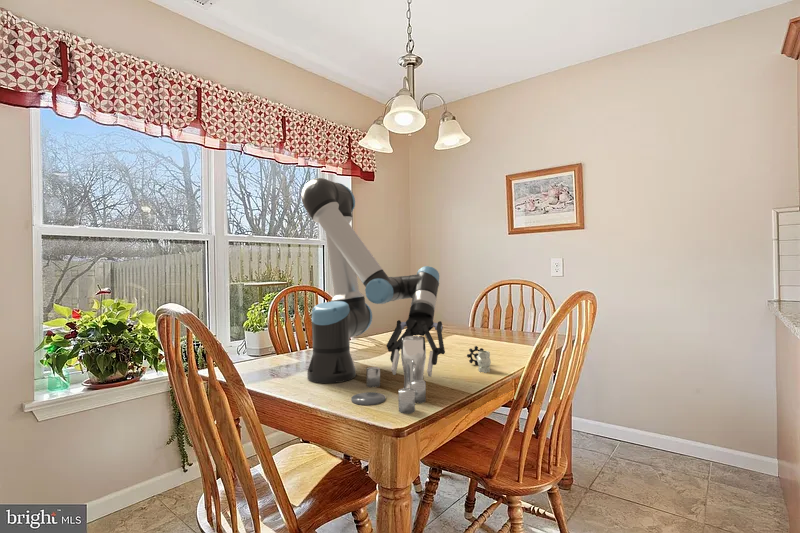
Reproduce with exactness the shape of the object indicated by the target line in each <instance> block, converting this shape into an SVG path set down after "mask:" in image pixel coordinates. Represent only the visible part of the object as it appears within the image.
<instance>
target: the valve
mask: <svg viewBox="0 0 800 533" xmlns="http://www.w3.org/2000/svg"><path fill="white" fill-rule="evenodd" d="M473 348H474V349H473ZM473 348H469V349H468V351H469V352H470V353H467V355H466V357H467V358H469V360H468V361H469V363H470V364H472V363H473V362H474V365H475V366H478V368H477V370H478V372H480V373H481V372H484V373H483V374H488V373H491V367H490V366H491V362H492V361H491V353H490V351H489V350H485V349H484V348H483V347H481V348H479V347H478V346H477V345H475V346H474V347H473ZM474 352H475V353H474ZM487 372H488V373H487Z"/></svg>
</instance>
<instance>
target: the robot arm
mask: <svg viewBox="0 0 800 533" xmlns="http://www.w3.org/2000/svg"><path fill="white" fill-rule="evenodd" d="M303 186H304V187H303V188H302V191H301V202H302V204H303V207H304V209H305V211H306V212H307V214H308V215H309V217H310V218H311V219H312V221H313V222H315V223H317V224H318V223H319V224H320V226H321V228H322V229H323V231H324V232H325V238H326V245H327V252H328V259H329V265H330V272H331V278H332V279H331V280H332V285H333V294H334V296H333V297H332V298H331V299H330V301H327V302H321V303H318V304H316V305H314V306H313V308H312V312H311V313H312V314H311V327H312V328H311V331H312V332H311V335H312V336H311V337H312V338H311V339H312V354H311V357H310V358H311V359H310V362H309V365H308V368H307V375H306V376H307V377H306V378H307V380H308V381H310V382H313V383H321V384H329V383H331V384H333V383H335V384H336V383H341V382H342V383H343V382H346V381H350V380H353V379H354V378H355V377H356V373H357V372H356V366H355V363H354V361H353V357H352V355H351V351H350V350H351V349H350V341H351V340H350V338H353V337H358V336H361V335H362V334H363V333H365V332H366V331H367V330H369V328H370V326H371V324H372V322H373V311H372V309H371V307H370V306H369V305H368V304H367V303H366V299H365V297H366V298H367V300H368V301H370V303H372V304H376V305H383V304H386V303H390V302H395V301H398V300H406V299H411V302H410V308H409V313H408V317H407V320H405V321H401V320H400V319H399V320H397V321H396V326H395V328H394V329H393V332H392V334H391V336H390V338H389V339H388V342H387V344H386V348H387V351H388V352H389V353H390V352H391V353H390V358H389V359H390V362H391V368H390V369H391V372H392V375H393V376H394V375H396V374H397V372H398V371H397V369H398V364H399V360H400V357H401V353H400V352H401V342H402V337H405V336H422V337H424V336H425V339H427V341H428V344H429V346H430V349H431V350H429V355H428V356H429V357H428V361H427V362H428V363H427V368H426V369H427V370H426V373H427V376H428V378H429V377H430V378H431V377H432V374H433V368H434V367H433V366H435V365H437V362H438V356H439V355H444V354H446V353H445V352H446V350H445V344H444V338H443V334H442V333H443V329H444V327H443V322H442V321H438V322H434V316H435V310H436V304H437V296H438V292H439V287H440V272H439V271H438V270H437V269H436V268H435V267H432V266H429V265H428V266H427V265H425V266H422V267H421V268H419V269H418V270H417V273H416V274H411V275H401V276H390V277H389V276H388V274H387V273H386V272H385V271H384V269H383V267H382V266H381V265H380V263H379V262H378V261H377V259H376V258H375V257H374V256H373V254H372V253H371V251H370V250H369V249H368V247H367V246H366V245H365V243H364V242H363V240H362V239H361V238H360V237H359V235H358V234H357V232H356V231H355V229H354V228H353V227H352V226H351V224H350V223H351V222H352V220H353V211H354V209H355V207H356V199H355V198H356V197H355V195H354V193H353V192H352V190H351V188H349V187H347V186H346V185H345V184H342V183H341V182H340V183H339V182H335V181H332V180H329V179H326V178H323V177H322V178H321V177H316V178H313V179H311V180H309V181H307V183H306V184H304V185H303ZM358 279H359V280H360V281H361V283H362V285H364V287H365V290H364V291H365V295H364V294H363V293H361V291H360V289H359V282H358ZM405 327H406V328H405ZM433 328H434V330H435V331H436V333H437V342H438V346H439V347H437V345H436V343H435V341H434V339H433V337H432V335H431V330H432V329H433ZM404 329H405V331H404V333H403V334H402V332H403V330H404ZM401 334H402V335H401Z"/></svg>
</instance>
